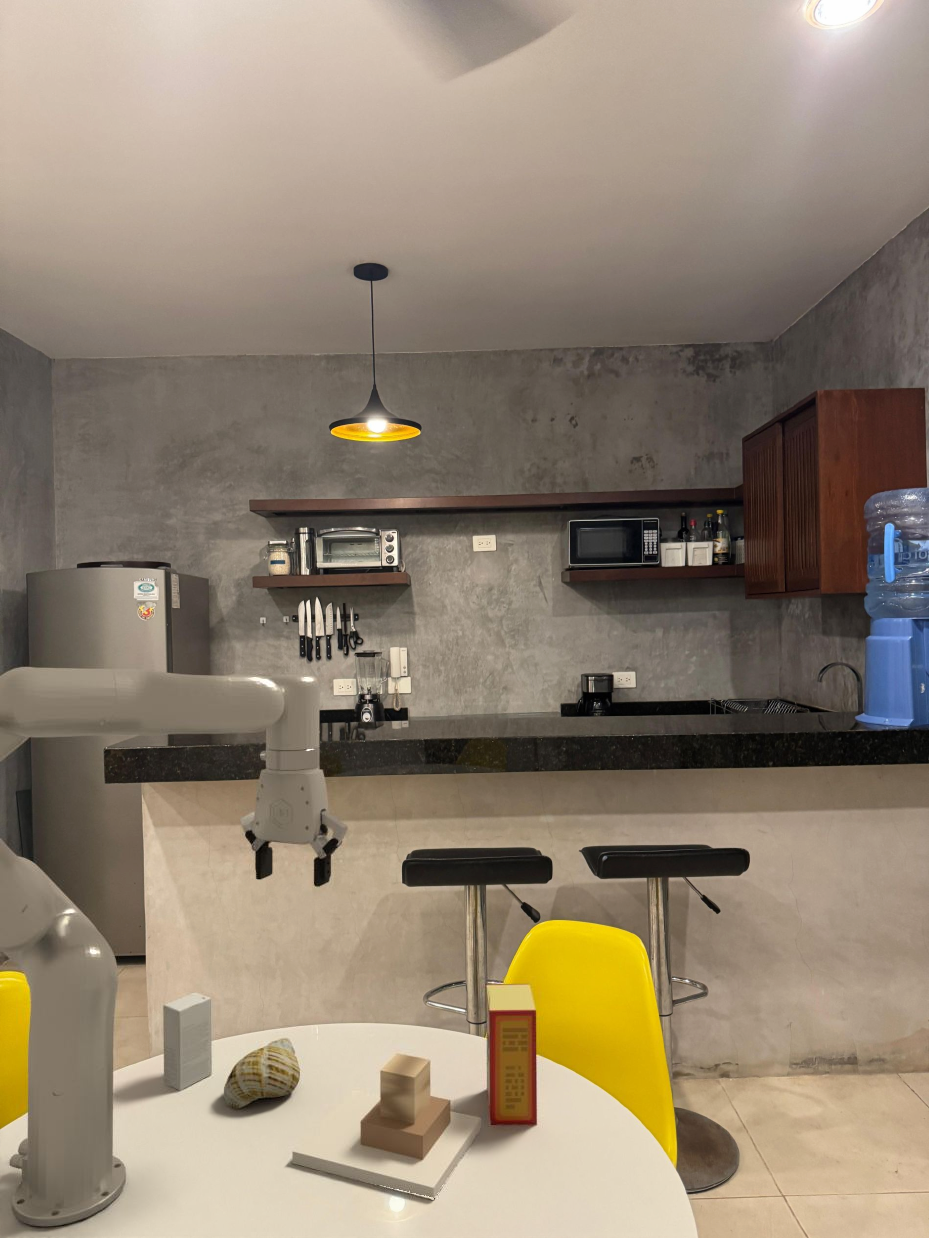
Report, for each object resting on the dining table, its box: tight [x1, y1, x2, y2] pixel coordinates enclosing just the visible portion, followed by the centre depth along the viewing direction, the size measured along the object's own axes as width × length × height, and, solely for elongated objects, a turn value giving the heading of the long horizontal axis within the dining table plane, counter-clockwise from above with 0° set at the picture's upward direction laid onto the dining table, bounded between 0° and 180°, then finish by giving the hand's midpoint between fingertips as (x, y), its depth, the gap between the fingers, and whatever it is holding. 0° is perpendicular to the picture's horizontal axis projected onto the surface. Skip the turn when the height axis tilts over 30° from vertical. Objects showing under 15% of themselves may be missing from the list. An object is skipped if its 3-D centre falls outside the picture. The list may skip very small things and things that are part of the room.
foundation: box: [291, 1089, 482, 1198], centre depth 112 cm, size 20×16×4 cm
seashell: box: [223, 1037, 301, 1110], centre depth 125 cm, size 10×10×10 cm
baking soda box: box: [485, 983, 538, 1126], centre depth 122 cm, size 10×6×16 cm
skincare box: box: [162, 991, 213, 1092], centre depth 130 cm, size 6×4×12 cm
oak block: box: [379, 1053, 431, 1124], centre depth 113 cm, size 5×5×6 cm
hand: (292, 880), depth 120 cm, fingers open, 9 cm apart
